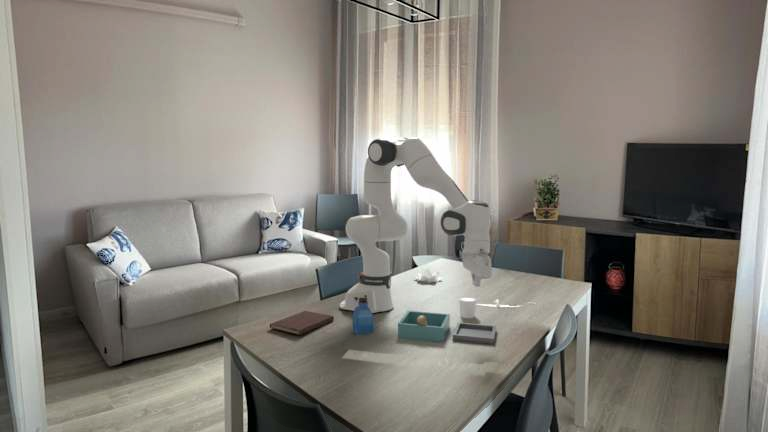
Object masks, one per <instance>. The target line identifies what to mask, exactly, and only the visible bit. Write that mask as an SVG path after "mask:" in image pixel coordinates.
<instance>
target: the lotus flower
mask: <svg viewBox="0 0 768 432" xmlns="http://www.w3.org/2000/svg"><path fill="white" fill-rule="evenodd" d="M421 273H422V274H421ZM421 273H419V272H417V275H418V276H413V277H414V278H415V279H416V280H417V282H420V283H426V284H431V283H432V284H433V283H437V282H440V281H441V280H442V279H443V276H440V271H438V272H437V269H436V271H435V272H434V273H431V270H430V269H429V268H428V267H425V268H424V269H423V271H422V272H421Z"/></svg>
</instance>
